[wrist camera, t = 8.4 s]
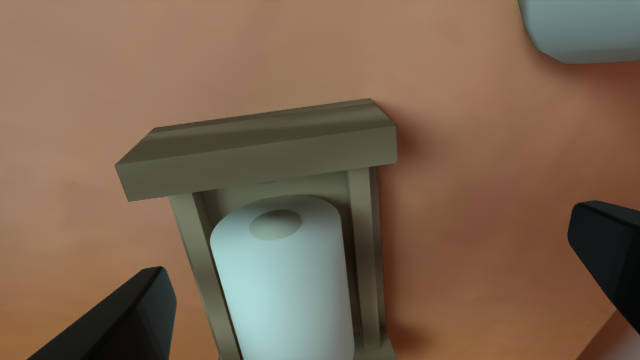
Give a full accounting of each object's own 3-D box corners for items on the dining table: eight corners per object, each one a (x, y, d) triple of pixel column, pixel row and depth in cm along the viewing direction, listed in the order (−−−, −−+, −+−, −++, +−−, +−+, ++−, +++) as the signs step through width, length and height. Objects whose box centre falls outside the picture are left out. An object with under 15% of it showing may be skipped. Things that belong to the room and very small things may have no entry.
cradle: (383, 332, 26) (404, 400, 22) (226, 358, 26) (215, 432, 21) (369, 98, 19) (396, 125, 15) (154, 127, 19) (114, 165, 14)
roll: (344, 302, 24) (365, 390, 18) (249, 319, 23) (242, 413, 18) (330, 185, 20) (351, 249, 15) (218, 202, 20) (197, 275, 14)
